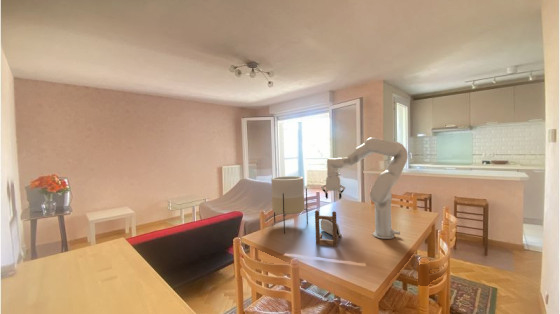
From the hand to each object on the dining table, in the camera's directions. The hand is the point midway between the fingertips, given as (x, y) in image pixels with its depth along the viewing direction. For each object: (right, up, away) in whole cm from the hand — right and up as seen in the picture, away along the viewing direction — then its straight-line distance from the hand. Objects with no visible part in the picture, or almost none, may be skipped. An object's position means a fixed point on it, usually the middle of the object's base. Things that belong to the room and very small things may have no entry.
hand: (333, 198), depth 167 cm
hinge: (-5, -21, -15) cm, 26 cm away
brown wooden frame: (-10, -21, -29) cm, 37 cm away
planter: (-34, -21, +3) cm, 40 cm away
